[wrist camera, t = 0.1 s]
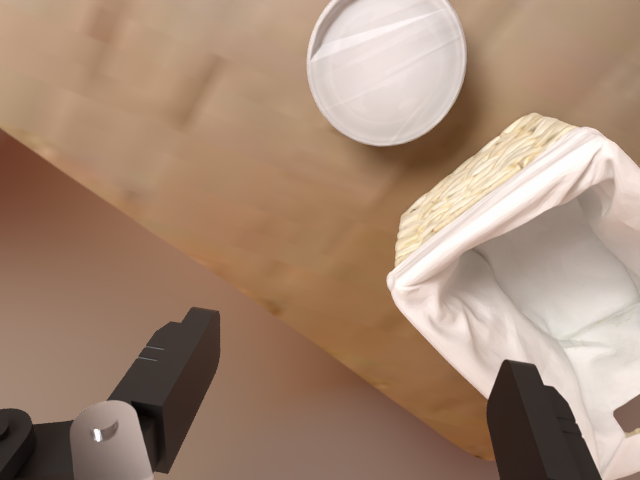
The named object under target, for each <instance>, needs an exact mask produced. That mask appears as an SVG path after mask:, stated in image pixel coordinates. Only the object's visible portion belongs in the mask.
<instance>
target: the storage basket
mask: <svg viewBox="0 0 640 480" xmlns="http://www.w3.org/2000/svg"><path fill="white" fill-rule="evenodd" d="M399 230H400V231H399V232H398V234H397V238H398V241H397V242H396V246H395V251H396V256H395V258H396V261H395V269H394V270H393V271H392V272H390V273H389V274H388V276H387V280H386V281H387V286H388V288H389V290H390V291H391V295H392V298H393V300H394V302H395V304H396V306H397V307H398V308H399V310H400V311H401V312H402V313H403V315H404V316H405V317H406V318H407V319H408V320H409V321H410V322H411V324H412V325H413V326H414V327H415V328H416V329H417V330H418V331H419V332H420V333H421V334H422V335H423V336H424V337H425V338H426V339H427V340H428V341H429V342H430V344H431V345H432V346H433V347H434V348H435V349H436V350H437V351H438V352H439V353H440V354H441V355H442V356H443V357H444V358H445V359H446V360H447V361H448V362H449V363H450V364H451V365H452V366H453V367H454V368H455V369H456V370H457V371H458V372H459V373H460V374H461V375H462V376H463V377H464V378H465V379H467V380H468V381H469V382H470V383H471V384H472V385H473V386H474V387H475V388H476V389H477V390H478V391H479V392H480V393H481V394H482V395H483V396H484V397H485V398H487V399H489V396H490V393H491V390H492V388H493V385H494V382H495V380H496V377H497V374H498V372H499V369H500V366H501V364H502V362H503V361H504V360H505V359H508V360H514V361H520V362H526V363H532V364H535V365H536V367H537V369H538V371H539V374H540V376H541V379H542V381H543V384H544V385H547V386H553V387H554V388H555V389H556V390H557V391H558V392H559V393H560V394H561V395H562V396H563V398H564V399H565V400H566V401H567V402H568V403H569V406H570V408H571V410H572V413H573V415H574V417H575V419H576V423H577V424H578V426H579V428H580V431H581V433H582V438H584V440H585V442H586V444H587V446H588V449H589V451H590V453H591V455H592V458H593V460H594V462H595V465H596V467H597V469H598V471H599V474H600V476H601V478H602V480H615V479H619V478H622V477H626V476H629V475H631V474H634V473H637V472H640V428H636V429H635V430H634V431H632V432H629V433H627V432H623V430H622V428H621V427H620V425H619V424H618V422H617V421H616V419H615V418H614V416H613V414H614V410H615V409H617V408H619V407H621V406H622V405H624V404H626V403H627V402H628V401H630V400H631V399H633V398H634V397H636V396H637V395H639V394H640V168H639V167H638V166H637V165H636V164H635V163H634V162H633V161H632V160H631V158H630V157H629V156H628V155H627V154H626V153H625V152H624V151H623V150H622V149H621V148H620V147H619V146H618V145H617V144H616V143H615V142H613V141H611V140H609V139H607V138H606V137H605V136H604V135H603V134H602V133H600V132H599V131H598V130H596V129H594V128H590V127H582V128H581V127H577V126H571V125H570V124H567V123H565V122H562V121H559V120H558V119H556V118H551V117H543V116H542V115H540V114H538V113H531V114H529V115H526V116H523V117H521V118H520V119H518V120H516V121H515V122H514V123H512V124H511V125H510V126H508V127H507V128H506V129H505V130H504V131H503V132H502V133H501V134H500V136H498V137H496V138H494V139H493V140H492V141H490V142H489V143H488V144H487V145H485V146H484V147H483V148H482V149H481V150H480V151H479V152H478V153H477V154H475V155H474V156H471V157H470V158H469V159H467V160H466V161H465V162H464V163H462V164H461V165H460V166H459V167H458V168H457V169H456V170H455V171H454V172H453V173H451V174H450V175H448V176H447V177H446V178H444V179H443V180H442V181H440V182H439V183H438V184H437V185H436V186H435V187H434V188H433V189H432V190H431V191H430V192H428V193H426V194H424V195H422V196H421V197H420V198H419V199H418V200H417V201H416V202H415V203H414V204H413V205H412V206H411V207H410V208H409V209H408V210H407V211H406V212H405V213H404V214H403V215H402V216H401V221H400V225H399Z"/></svg>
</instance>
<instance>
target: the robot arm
mask: <svg viewBox="0 0 640 480" xmlns="http://www.w3.org/2000/svg"><path fill="white" fill-rule="evenodd" d="M219 358H220V314H219V311H215V310H209V309H203V308H197V307H192V308H191V309H190V310H189V312H188V313H187V315H186V316H185V318H184V319H183V321H182V323H177V322H169V323H168V324H166V325H165V326H163V327H162V328H160V329H159V330H157V331H156V332H155V333H154V335H153V336H152V338H151V339H150V340H149V342H148V343H147V345H146V348H144V349H143V350H142V352H141V353H140V355H139V357H138V359H136V360H135V362H134V363H133V364H132V366H131V367H130V369H129V370H128V371H127V373H126V374H125V376H124V377H123V379H122V380H121V381H120V383H119V384H118V385H117V387H116V388H115V390H114V391H113V393H112V394H111V395H110V397H109V398H108V399H107V401H104V402H100V403H97V404H94V405H92V406H90V407H88V408H87V409H85V410H84V411H83V412H81V413H80V414H79V415H78V416H77V417H76V419H75V420H71V421H65V422H54V423H44V424H34V425H33V424H32V421H31V418H30V416H29V415H28V414H27V413H26V412H24V411H22V410H19V409H11V408H9V409H0V480H154V477H153V473H154V471H156V472H161V473H166V474H168V473H169V471H170V468H171V467H172V464H173V462H174V460H175V458H176V456H177V454H178V452H179V450H180V447H181V445H182V443H183V441H184V439H185V437H186V435H187V432H188V430H189V428H190V426H191V424H192V422H193V420H194V418H195V416H196V413H197V411H198V409H199V407H200V405H201V403H202V400H203V399H204V396H205V394H206V392H207V390H208V388H209V386H210V384H211V381H212V379H213V377H214V375H215V373H216V370H217V367H218V363H219ZM486 415H487V424H488V428H489V433H490V437H491V441H492V446H493V450H494V454H495V459H496V463H497V467H498V472H499V476H500V480H602V478H601V476H600V474H599V471H598V469H597V467H596V465H595V462H594V460H593V458H592V455H591V453H590V451H589V449H588V446H587V444H586V442H585V440H584V438H582V433H581V431H580V428H579V426H578V424H577V423H576V419H575V417H574V415H573V413H572V410H571V408H570V406H569V403H568V402H567V401H566V400H565V399H564V398H563V396H562V395H561V394H560V393H559V392H558V391H557V390H556V389H555V388H554V387H553V386H547V385H544V384H543V381H542V379H541V376H540V374H539V371H538V369H537V367H536V365H535V364H532V363H526V362H520V361H514V360H508V359H505V360H504V361H503V362H502V364H501V366H500V369H499V372H498V374H497V377H496V380H495V382H494V385H493V388H492V390H491V393H490V396H489V399H488V403H487V412H486Z"/></svg>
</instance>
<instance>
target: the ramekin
mask: <svg viewBox="0 0 640 480" xmlns="http://www.w3.org/2000/svg"><path fill="white" fill-rule="evenodd" d="M466 65H467V47H466V40H465V35H464V31H463V28H462V25H461V22H460V19H459V17H458V15H457V13H456V11H455V10H454V8H453V7H452V5H451V4H450V3H449V1H448V0H332V1H331V2H330V3H329V4H328V5H327V6H326V8H325V9H324V11H323V12H322V14H321V15H320V17H319V19H318V20H317V23H316V25H315V27H314V29H313V32H312V35H311V38H310V42H309V46H308V52H307V76H308V81H309V86H310V89H311V93H312V95H313V98H314V100H315V102H316V104H317V106H318V108H319V110H320V111H321V113H322V114H323V116H324V117H325V118H326V119H327V120H328V122H329V123H330V124H331V125H332V126H333V127H335V128H336V129H337V130H338V131H339V132H341V133H342V134H343V135H345V136H347V137H349V138H350V139H352V140H355V141H357V142H360V143H363V144H367V145H372V146H377V147H381V146H394V145H399V144H404V143H407V142H410V141H413V140H415V139H417V138H419V137H421V136H422V135H424V134H426V133H427V132H429V131H430V130H431V129H433V128H434V127H435V126H436V125H437V124H438V123H439V122H441V120H442V119H443V118H444V117H445V116H446V115H447V113H448V112H449V110H450V109H451V107H452V106H453V104H454V103H455V101H456V99H457V97H458V95H459V93H460V90H461V87H462V84H463V81H464V77H465V72H466Z"/></svg>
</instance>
